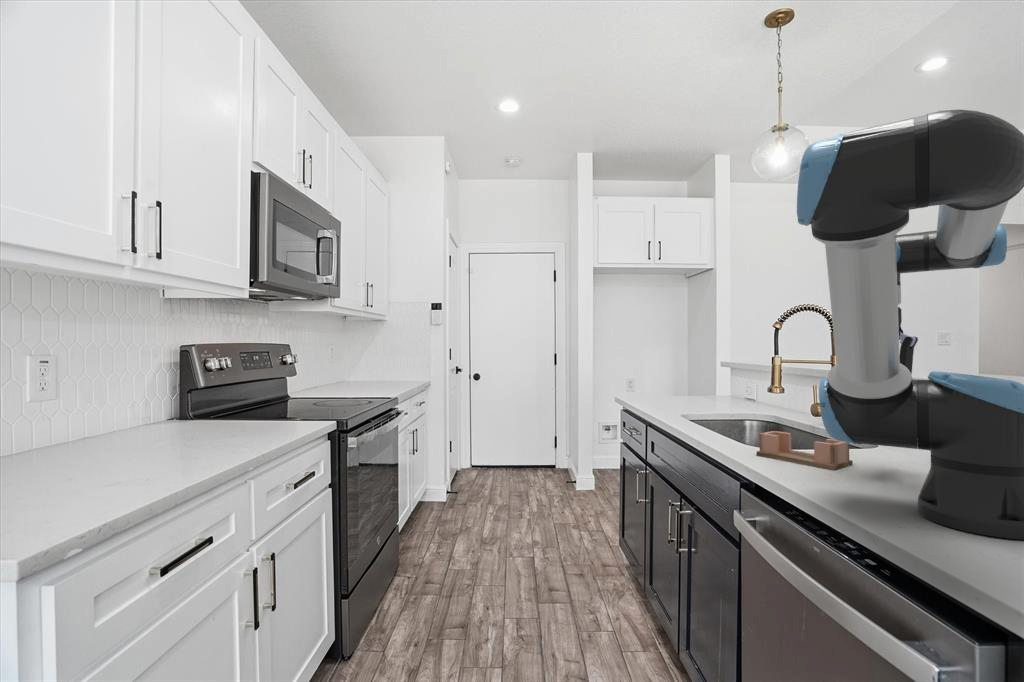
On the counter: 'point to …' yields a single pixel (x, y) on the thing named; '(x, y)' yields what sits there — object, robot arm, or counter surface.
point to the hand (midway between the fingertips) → (881, 415)
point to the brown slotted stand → (823, 452)
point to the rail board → (802, 459)
